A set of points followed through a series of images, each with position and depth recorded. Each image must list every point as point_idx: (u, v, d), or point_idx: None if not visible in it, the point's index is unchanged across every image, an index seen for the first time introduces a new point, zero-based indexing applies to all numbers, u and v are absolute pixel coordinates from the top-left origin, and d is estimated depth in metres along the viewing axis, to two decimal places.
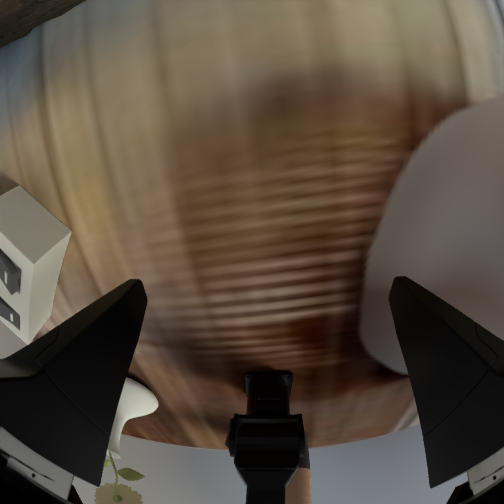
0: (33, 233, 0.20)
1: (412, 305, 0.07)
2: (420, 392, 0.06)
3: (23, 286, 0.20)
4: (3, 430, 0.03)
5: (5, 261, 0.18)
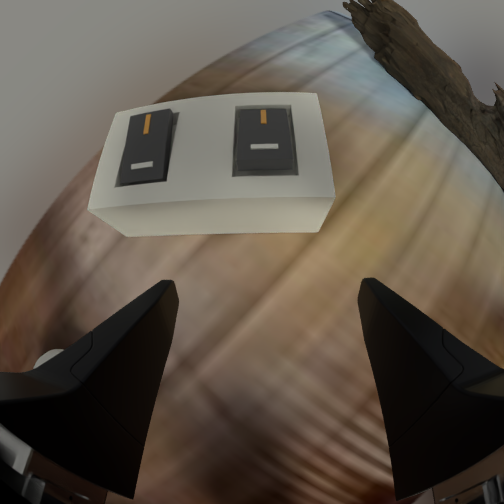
0: None
1: (376, 308, 0.07)
2: (385, 400, 0.06)
3: (262, 181, 0.17)
4: (36, 453, 0.03)
5: (290, 143, 0.17)
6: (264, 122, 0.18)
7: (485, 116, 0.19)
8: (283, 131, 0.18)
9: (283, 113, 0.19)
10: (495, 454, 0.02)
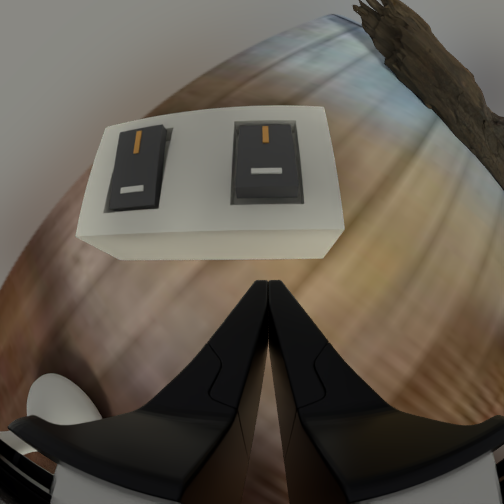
0: None
1: (268, 313, 0.07)
2: (278, 411, 0.06)
3: (264, 211, 0.16)
4: None
5: (295, 167, 0.16)
6: (266, 141, 0.17)
7: (498, 127, 0.18)
8: (287, 152, 0.16)
9: (287, 131, 0.17)
10: None
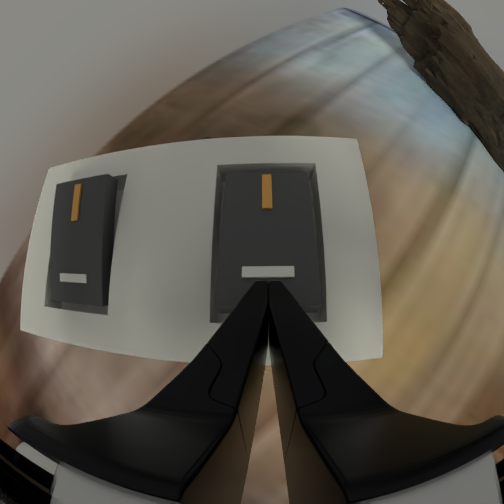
0: None
1: (268, 313, 0.07)
2: (278, 411, 0.06)
3: None
4: None
5: None
6: (268, 207, 0.11)
7: None
8: (303, 230, 0.10)
9: (303, 184, 0.11)
10: None
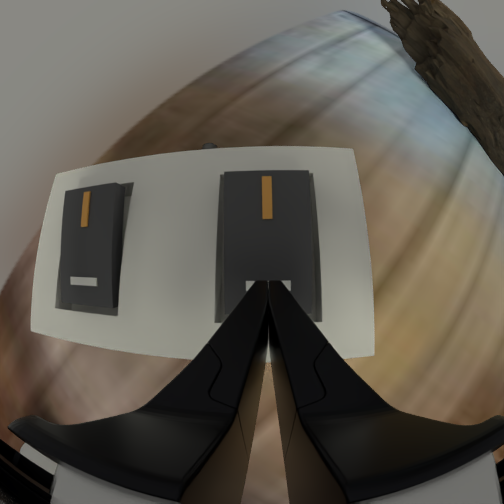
0: None
1: (268, 313, 0.07)
2: (278, 411, 0.06)
3: None
4: None
5: None
6: (268, 217, 0.11)
7: None
8: (301, 242, 0.11)
9: (303, 187, 0.11)
10: None
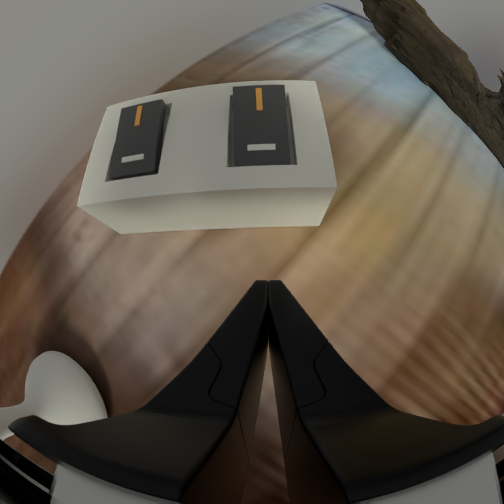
0: None
1: (268, 313, 0.07)
2: (278, 411, 0.06)
3: (259, 171, 0.16)
4: None
5: None
6: (260, 109, 0.16)
7: (491, 101, 0.18)
8: (281, 123, 0.16)
9: (281, 93, 0.16)
10: None
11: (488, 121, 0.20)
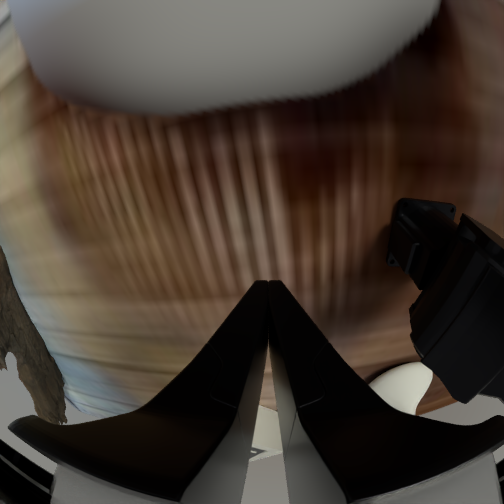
0: None
1: (268, 313, 0.07)
2: (278, 411, 0.06)
3: None
4: None
5: None
6: None
7: (16, 350, 0.27)
8: None
9: None
10: None
11: (21, 334, 0.29)
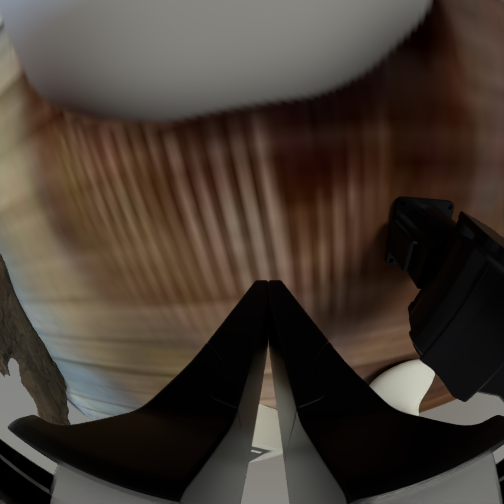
0: None
1: (268, 313, 0.07)
2: (278, 411, 0.06)
3: None
4: None
5: None
6: None
7: (18, 356, 0.28)
8: None
9: None
10: None
11: (23, 340, 0.29)
